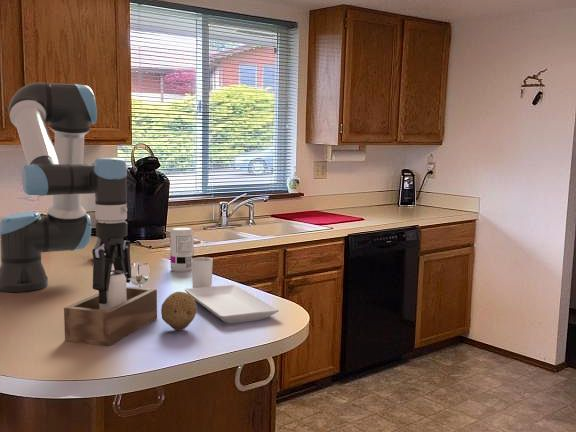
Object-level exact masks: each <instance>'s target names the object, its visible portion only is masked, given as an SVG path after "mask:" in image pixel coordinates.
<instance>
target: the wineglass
mask: <svg viewBox="0 0 576 432" xmlns="http://www.w3.org/2000/svg"><path fill="white" fill-rule="evenodd" d="M150 278H151V271H150V267H149V263H148V262H146V261H145V262H143V261H137V262H132V263H131V278H130V283H131V284H132V285H135V286H136V287H137V286H138V287H137V288H142V287H143V286H144V285H146V284H148V283H149V282H150Z"/></svg>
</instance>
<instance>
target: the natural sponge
mask: <svg viewBox="0 0 576 432" xmlns="http://www.w3.org/2000/svg"><path fill="white" fill-rule="evenodd" d="M196 302H197V301H196V300H195V299H194V298H192V297H191V296H190V295H189V294H188V293H187V292H183V291H175V292H172V293H170V294H169V295H168V296H167V297H166V299H165V300H164V301H163V303H162V304H161V309H160V310H161V311H160V312H161V313H160V314H161V319H162V320H163V322H164V323H165V324H166V325H168V326H170V328H172V329H174V330H176V331H177V332H179V331H183V330H185V329H186V328H187V327H188V326H189V325H191V323H192V322H193V321H194V319H195V317H196V314H197V308H198V306H197V303H196Z"/></svg>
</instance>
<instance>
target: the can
mask: <svg viewBox="0 0 576 432" xmlns="http://www.w3.org/2000/svg"><path fill="white" fill-rule="evenodd" d="M126 286H127V283H126V277H125V275H124V271H120V270H115V269H111V275H110V281H109V287H108V290H111V308H113V307H115V306H117V305H119V304H121V303H123V302H125V301H127V300H126Z"/></svg>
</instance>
